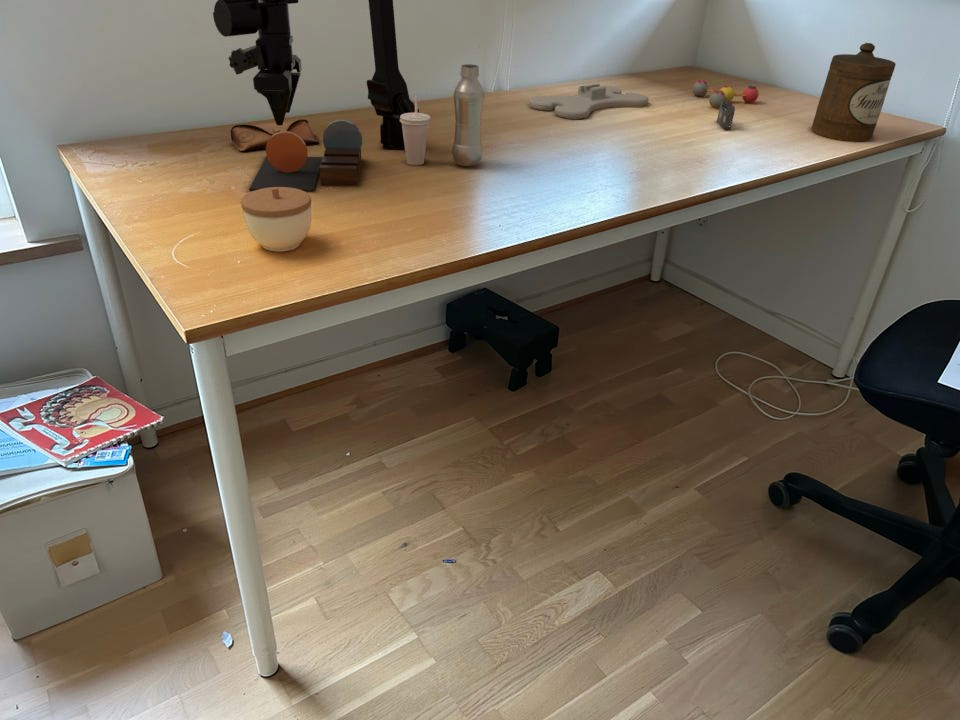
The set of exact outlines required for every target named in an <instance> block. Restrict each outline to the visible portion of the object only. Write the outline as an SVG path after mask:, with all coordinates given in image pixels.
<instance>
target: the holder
mask: <svg viewBox="0 0 960 720" xmlns="http://www.w3.org/2000/svg"><path fill="white" fill-rule="evenodd" d="M648 104H649V96H647V95H645V94H642V93H637V92H625V93H624V94H623V93H622V89H621V88H618V87H615V86H610V85H600V84H599V83H591V84H586V85H581V86H579V87H578V91H577V94H572V95H557V96H555V95H554V96H553V95H551V96H549V95H538V96H533V97H530V99H529V100H528V106H529V107H530V108H531V109H534V110H538V111H545V112H546V111H547V112H550V111H552V110H554V114H555V115H556V116H557V117H559V118H562V119H566V120H567V119H568V120H582V119H585V118H588V117H589V114H590V113H591V112H594V111H597V110H602V109H606V108H616V107H619V108H620V107H628V108H629V107H632V108H633V107H634V108H635V107H636V108H637V107H638V108H639V107H645V106H647V105H648Z"/></svg>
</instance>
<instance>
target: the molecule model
mask: <svg viewBox="0 0 960 720" xmlns="http://www.w3.org/2000/svg"><path fill="white" fill-rule="evenodd" d="M708 92H710V93H711V94H710V96H709V98H708V102H709V105H710V106H711V108H714V109H719V108H720V103H721V99H726V100H727V101H729V102H730V103H731V101H732V100H733V99H734V97H742V100H743V101H744V102H745V103H747V104H752V103H755V102H756V101H757V100H758V98H759V94H760V93H759V90H758V88H757V86H756V85H748V86H747V87H746V88H745V89H744V90H743V92H735V90H734V88H733V86H732V85H730V84H729V85H728V84H727V85H726V84H724V85H723V87H722V88H720V89H719V90H718V89H717V90H715V89H714V90H712V89H709V85H708V81H706V80H705V79H696V82H695V83H694V84H693V86H692V93H693V95H694V96H696V97H699V98H700V97H701V98H702V97H704V96H705V95H706V94H707V93H708Z"/></svg>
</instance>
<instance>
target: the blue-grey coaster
mask: <svg viewBox="0 0 960 720" xmlns="http://www.w3.org/2000/svg"><path fill="white" fill-rule="evenodd" d="M362 135H363V134H362V133H361V130H360V128H359V127H358V125H356V124H355V123H354V122H352V121H350V120H348V119H335V120H333V121H331V122H330V123H328V124H327V126H326V127H325V129H324V131H323V135H322V143H323V146H324V150H325V149H326V148H348V149H361V150H362V146H363V136H362Z"/></svg>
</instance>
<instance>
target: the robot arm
mask: <svg viewBox="0 0 960 720" xmlns="http://www.w3.org/2000/svg"><path fill="white" fill-rule="evenodd" d="M367 2H368V10H369V19H370V30H371V39H372V49H373V59H374V60H373V61H374V73H373V76H372V78H371V79H367V80H366V87H367V100H369V101H370V104H371V106H372V107H373V108H374V111H375V114H376V116H378V117H382V122H380V125H379V129H380V130H379V131H380V134H379V135H380V144H381V145H382V149H384V150H386V149H387V150H405V145H404V137H403V130H402V123H401V122H400V116H401V115H402V114H405V113H415V102H413V101H412V99H410V94H409V91H408V89H409V88H408V85H407V82H406V80H405V78H404V77H403V74H402V73H401V71H400V68H399V57H398V45H397V33H396V19H395V7H394V0H368V1H367ZM298 3H299V0H217V1H216V2H215V4H214V7H213V8H214V9H213V12H212V17H213V22H214V24H215V27H216V29H217V31H218V33H219V34H220V35H221V36H222V37H225V38H227V37H236V36H237V37H238V36H245V35H253V34H258V38H257V39H256V40H255V45H252V46H249V47H246V48H244V49H242V47H239V48H238V49H233V50H232V51H231V52H230V55H229V56H228V58H227V59H228V61H229V67H230V68H232V69H233V71H234V73H235V75H236V76H237V75H240V74H243V72H246V71H248V70H252V69H254V68H256V67H257V70H258V72H257V73H256V74H255V75H254V77H253V78H252V82H253V90H255V91H256V92H257V94H260V95H261V96H263V97H264V98H265V99H266V101H267V103H268V106H269V108H270V110H271V113H272V117H273V118H274V121H275V122H276V124H277V125H283V122H285V118H286V114H290V112H291V108H292V105H293V101H294V97H295V94H296V90H297V88H298V85H299V81H300V77H301V75H302V74H301V71H302V70H303V69H302V59H301V58H300V57H298V56H297V54H293V42H294V35H292V34H291V22H290V11H289V10H290V9H289V5H290V4H291V5H292V4H298ZM294 70H296V72H294ZM418 113H420V109H419V108H418ZM275 122H274V123H275Z"/></svg>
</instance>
